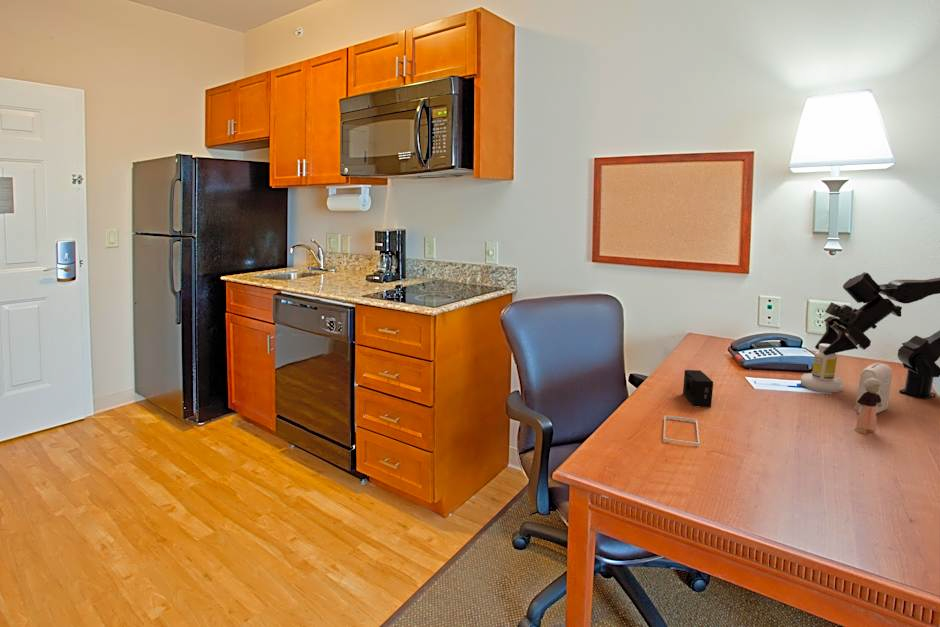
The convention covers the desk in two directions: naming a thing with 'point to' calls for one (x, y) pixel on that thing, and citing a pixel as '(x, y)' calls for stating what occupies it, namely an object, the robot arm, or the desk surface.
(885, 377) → the photo printer
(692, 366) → the desk surface
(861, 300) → the robot arm
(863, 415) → the grandmother figurine
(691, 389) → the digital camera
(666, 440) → the phone case
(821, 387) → the plinth
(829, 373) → the supplement bottle
